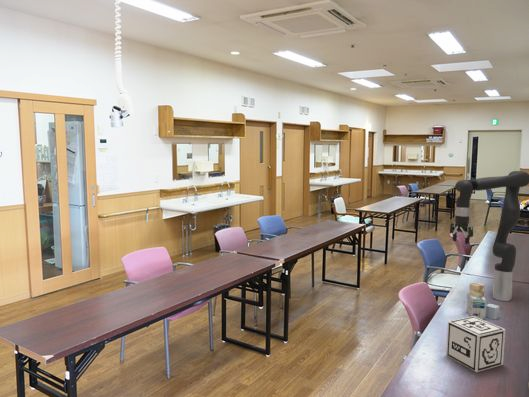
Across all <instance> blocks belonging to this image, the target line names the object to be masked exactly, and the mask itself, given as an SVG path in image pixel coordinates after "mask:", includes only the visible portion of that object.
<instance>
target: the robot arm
mask: <svg viewBox="0 0 529 397" xmlns="http://www.w3.org/2000/svg"><path fill="white" fill-rule="evenodd" d="M528 185H529V173H528V172H526V171H525V170H524V171H523V170H514V171H510V172H509V174H508V175H501V176H487V177H486V176H485V177H478V178H473V179H472V178H471V179H462V180H458V181H457V182H456V183H455V186H454V188H455V190H456V191H457V192H459V196H458V197H457V198H456V203H455V204H456V206H455V214H454V215H455V216H454V222H452V223H451V222H450V227H449V233H450V234H452V241H453V242H457V240H458V235H457V234H458V233H462V234H463V235H464V240H465V241H464V244H466V245H469V243H470V241H471V240H470V238H472V237H474V226H472V225H471V226H469V223H470V213H471V212H470V211H471V210H470V205H471V198H472V194H473V191H486V190H493V189H498V188H505V192H504V193H505V194H504V199H503V205H502V208H501V214H500V218H499V219H500V220H499V224H498V228H497V233H496V236H495V239H494V242H493V244H492V245H493V246H492V254H493V255H494V256H495V257H496V258H500V259H501V262H500V263H499V262H498V263H495V264H494V272H493V273H494V274H493V286H492V287H493V288H492V298H493V299H494V300H497V301H502V302H509V301H511V300H512V298H513V297H512V296H513V274H514V272H513V270H514V268H515V264H516V257H517V249H516V246H515V245H514V244H512V243H508V242H507V241H508V236H509V234H510V233H511V231H512V230H513V229H514V228H515V227H516V226H517V224H518V222H519V220H520V215H521V205H520V201H519V193H520V190H521V189H520V188H524V187H526V186H528Z"/></svg>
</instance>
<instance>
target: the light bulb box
mask: <svg viewBox="0 0 529 397" xmlns="http://www.w3.org/2000/svg"><path fill="white" fill-rule="evenodd" d="M466 302H467V303H466V312H467V313H468V315H469V317H472V316H475V317H477V318H480V319H482V320H486V317H485V314H486V305H487V299H486V298H485V296H483V297H478V298H477V297H474V296H471V295H469V291H467V301H466Z"/></svg>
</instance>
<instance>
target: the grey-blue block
mask: <svg viewBox="0 0 529 397" xmlns="http://www.w3.org/2000/svg"><path fill="white" fill-rule="evenodd" d="M500 308H501V307H500V305H496V304H492V303H488V304H486V314H485V318H488V319H492V320H496V319H498V318H499V317H500Z"/></svg>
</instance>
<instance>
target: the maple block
mask: <svg viewBox="0 0 529 397" xmlns="http://www.w3.org/2000/svg"><path fill="white" fill-rule="evenodd" d="M485 289H486V287H485V284H482V283H479V282H472V283H471V282H470V283H469V288H468V290H469V291H468V292H469V295H471V296H474V297H477V298H478V297H485Z"/></svg>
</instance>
